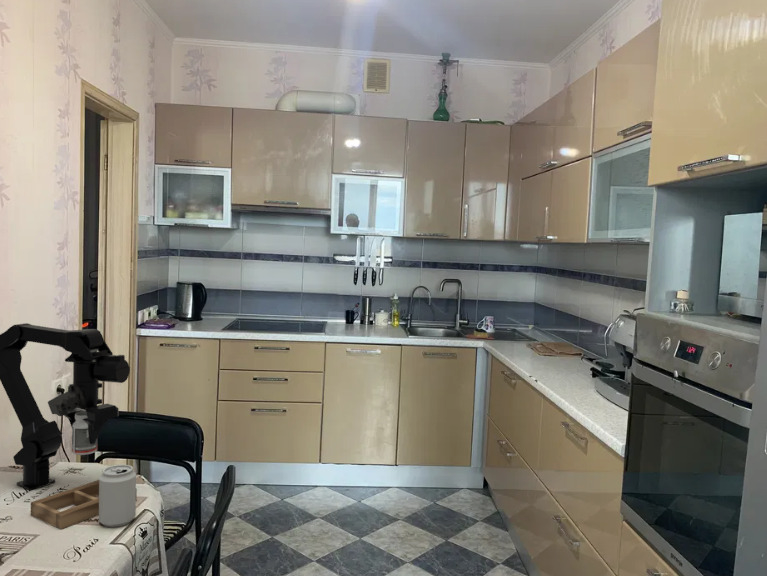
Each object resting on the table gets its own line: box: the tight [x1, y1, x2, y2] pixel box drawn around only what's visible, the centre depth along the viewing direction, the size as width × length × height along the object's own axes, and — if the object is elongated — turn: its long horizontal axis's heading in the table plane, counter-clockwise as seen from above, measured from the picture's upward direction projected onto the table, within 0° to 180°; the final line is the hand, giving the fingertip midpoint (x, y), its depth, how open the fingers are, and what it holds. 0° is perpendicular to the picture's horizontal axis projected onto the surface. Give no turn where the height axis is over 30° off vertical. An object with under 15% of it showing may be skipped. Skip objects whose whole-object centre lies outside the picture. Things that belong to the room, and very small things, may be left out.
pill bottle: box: [71, 411, 98, 456], centre depth 145 cm, size 6×6×10 cm
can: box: [98, 464, 137, 528], centre depth 129 cm, size 8×8×12 cm
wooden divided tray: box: [30, 479, 138, 530], centre depth 135 cm, size 12×18×3 cm, turn 149°
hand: (85, 441), depth 145 cm, fingers closed on pill bottle, 6 cm apart
